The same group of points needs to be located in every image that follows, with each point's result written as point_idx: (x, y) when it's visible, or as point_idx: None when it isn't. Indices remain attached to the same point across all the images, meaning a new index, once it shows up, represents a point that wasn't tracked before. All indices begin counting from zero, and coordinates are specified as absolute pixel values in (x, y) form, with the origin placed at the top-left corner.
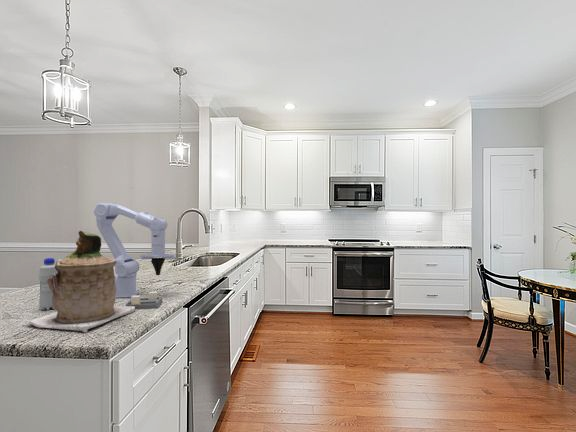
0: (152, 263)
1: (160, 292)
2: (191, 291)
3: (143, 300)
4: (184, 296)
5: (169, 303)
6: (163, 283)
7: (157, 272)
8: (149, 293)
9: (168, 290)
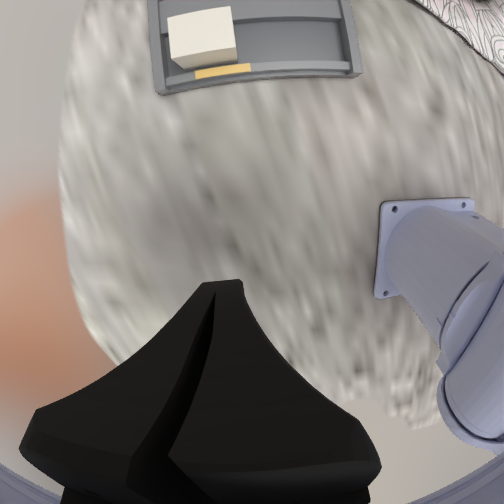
0: (315, 396)
1: (254, 307)
2: (95, 314)
3: (263, 11)
4: (78, 216)
5: (109, 60)
6: None
7: (216, 299)
8: (222, 8)
9: None
